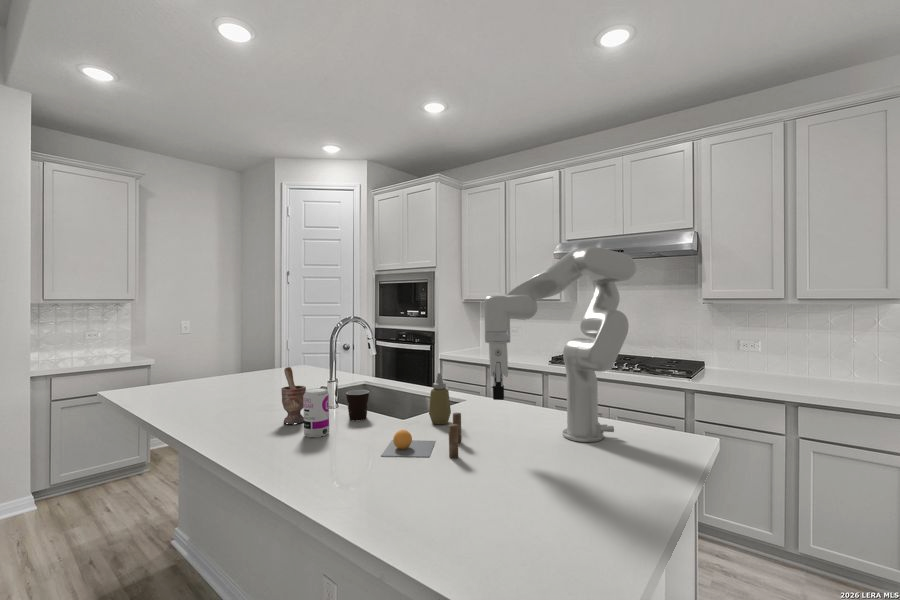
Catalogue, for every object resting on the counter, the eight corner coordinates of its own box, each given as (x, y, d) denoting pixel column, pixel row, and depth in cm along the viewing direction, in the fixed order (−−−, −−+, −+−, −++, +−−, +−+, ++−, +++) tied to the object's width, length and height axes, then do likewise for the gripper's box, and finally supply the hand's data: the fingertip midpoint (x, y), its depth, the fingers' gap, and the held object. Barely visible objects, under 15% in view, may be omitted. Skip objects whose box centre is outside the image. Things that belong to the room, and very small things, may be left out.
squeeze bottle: (441, 427, 153) (441, 376, 153) (424, 423, 158) (423, 374, 158) (455, 421, 159) (454, 372, 159) (438, 418, 164) (437, 370, 164)
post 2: (458, 455, 125) (458, 424, 125) (458, 458, 122) (457, 426, 122) (449, 455, 125) (449, 423, 125) (448, 458, 122) (448, 426, 123)
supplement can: (332, 431, 150) (332, 387, 150) (323, 438, 142) (322, 393, 142) (310, 430, 151) (309, 387, 151) (299, 438, 143) (299, 392, 143)
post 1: (461, 441, 137) (461, 412, 137) (461, 443, 135) (460, 414, 135) (453, 440, 138) (453, 412, 138) (452, 443, 135) (452, 414, 135)
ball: (397, 447, 134) (415, 443, 134) (393, 453, 129) (411, 450, 128) (393, 429, 134) (411, 426, 134) (389, 435, 129) (408, 431, 128)
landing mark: (435, 441, 138) (435, 440, 138) (429, 457, 124) (429, 456, 124) (392, 440, 139) (392, 440, 139) (380, 456, 125) (380, 455, 125)
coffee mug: (364, 422, 161) (363, 395, 161) (342, 421, 163) (342, 394, 163) (375, 413, 172) (375, 388, 172) (355, 413, 174) (355, 388, 174)
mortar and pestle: (271, 422, 162) (270, 369, 162) (291, 417, 170) (290, 366, 170) (291, 426, 156) (291, 371, 156) (311, 421, 164) (310, 368, 164)
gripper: (511, 339, 121) (512, 405, 121) (509, 335, 136) (510, 393, 136) (484, 339, 122) (485, 405, 122) (485, 335, 137) (486, 393, 137)
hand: (498, 399), depth 129 cm, fingers closed
